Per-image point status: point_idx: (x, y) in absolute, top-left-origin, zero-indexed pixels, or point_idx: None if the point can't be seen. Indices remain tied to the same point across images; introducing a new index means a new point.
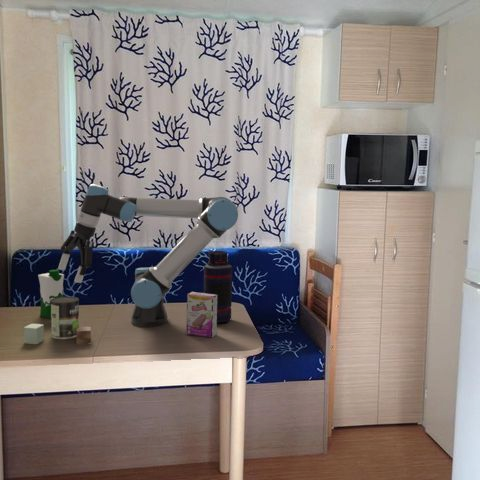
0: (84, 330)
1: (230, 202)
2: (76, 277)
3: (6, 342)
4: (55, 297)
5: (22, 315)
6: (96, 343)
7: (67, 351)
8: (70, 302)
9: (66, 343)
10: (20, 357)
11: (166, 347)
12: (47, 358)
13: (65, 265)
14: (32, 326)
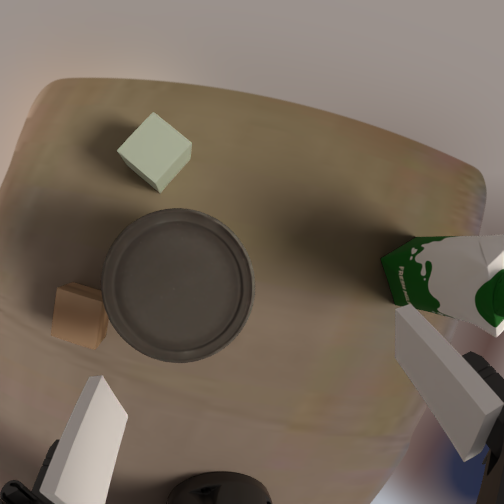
0: (57, 316)
1: None
2: (80, 404)
3: (191, 89)
4: (425, 284)
5: (430, 191)
6: None
7: (27, 240)
8: (104, 303)
9: (92, 253)
10: (46, 113)
11: (8, 460)
12: (5, 179)
13: (414, 377)
14: (150, 140)
